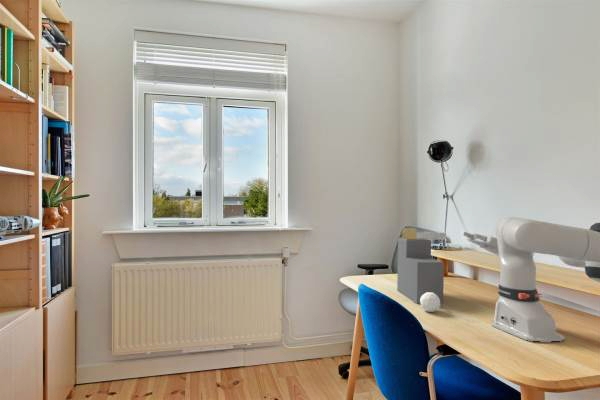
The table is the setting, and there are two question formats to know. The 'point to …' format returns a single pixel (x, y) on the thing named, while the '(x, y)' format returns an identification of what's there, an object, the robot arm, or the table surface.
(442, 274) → the grey tall stepped block
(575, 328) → the table surface
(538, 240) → the robot arm
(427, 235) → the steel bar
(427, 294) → the ball
